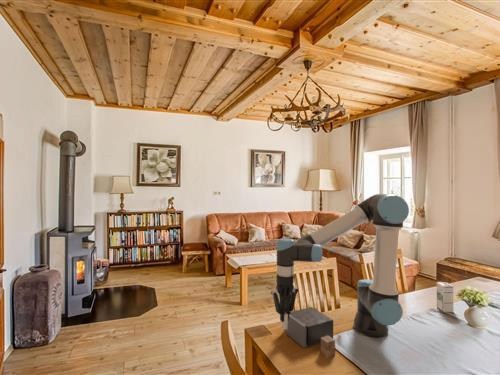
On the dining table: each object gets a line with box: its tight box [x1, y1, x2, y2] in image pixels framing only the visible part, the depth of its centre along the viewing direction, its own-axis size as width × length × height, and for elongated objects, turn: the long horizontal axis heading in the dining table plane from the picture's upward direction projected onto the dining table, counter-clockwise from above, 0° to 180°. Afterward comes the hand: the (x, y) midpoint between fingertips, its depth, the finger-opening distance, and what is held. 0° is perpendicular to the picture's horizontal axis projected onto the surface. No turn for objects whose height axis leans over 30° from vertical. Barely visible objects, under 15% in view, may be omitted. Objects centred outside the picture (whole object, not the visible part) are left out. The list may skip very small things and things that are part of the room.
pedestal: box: [320, 336, 336, 358], centre depth 113 cm, size 4×4×6 cm
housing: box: [290, 306, 334, 348], centre depth 128 cm, size 14×15×8 cm
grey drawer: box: [283, 314, 307, 348], centre depth 127 cm, size 15×15×9 cm
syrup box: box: [436, 281, 455, 313], centre depth 154 cm, size 6×6×14 cm
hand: (284, 328), depth 122 cm, fingers closed
